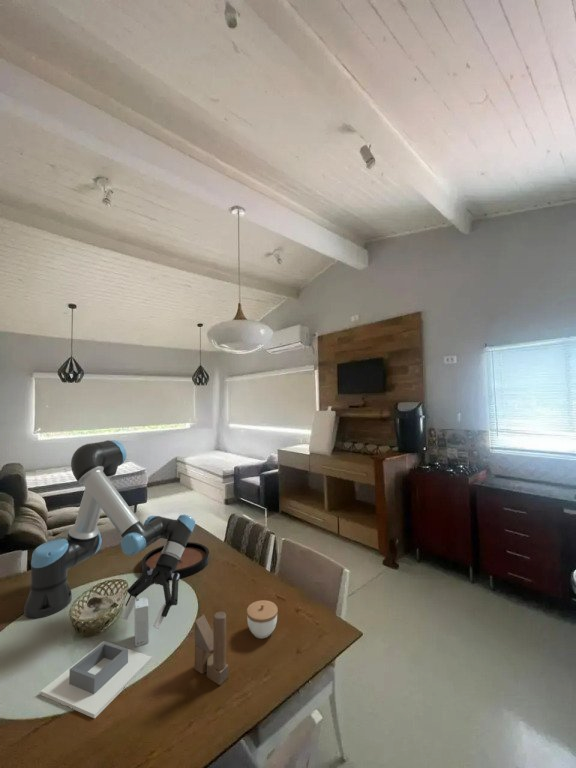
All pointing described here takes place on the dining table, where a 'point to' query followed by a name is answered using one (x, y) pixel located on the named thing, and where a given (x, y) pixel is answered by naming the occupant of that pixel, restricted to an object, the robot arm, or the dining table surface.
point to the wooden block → (211, 648)
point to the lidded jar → (262, 618)
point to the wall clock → (182, 559)
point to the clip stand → (96, 678)
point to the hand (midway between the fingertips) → (139, 623)
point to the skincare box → (141, 621)
